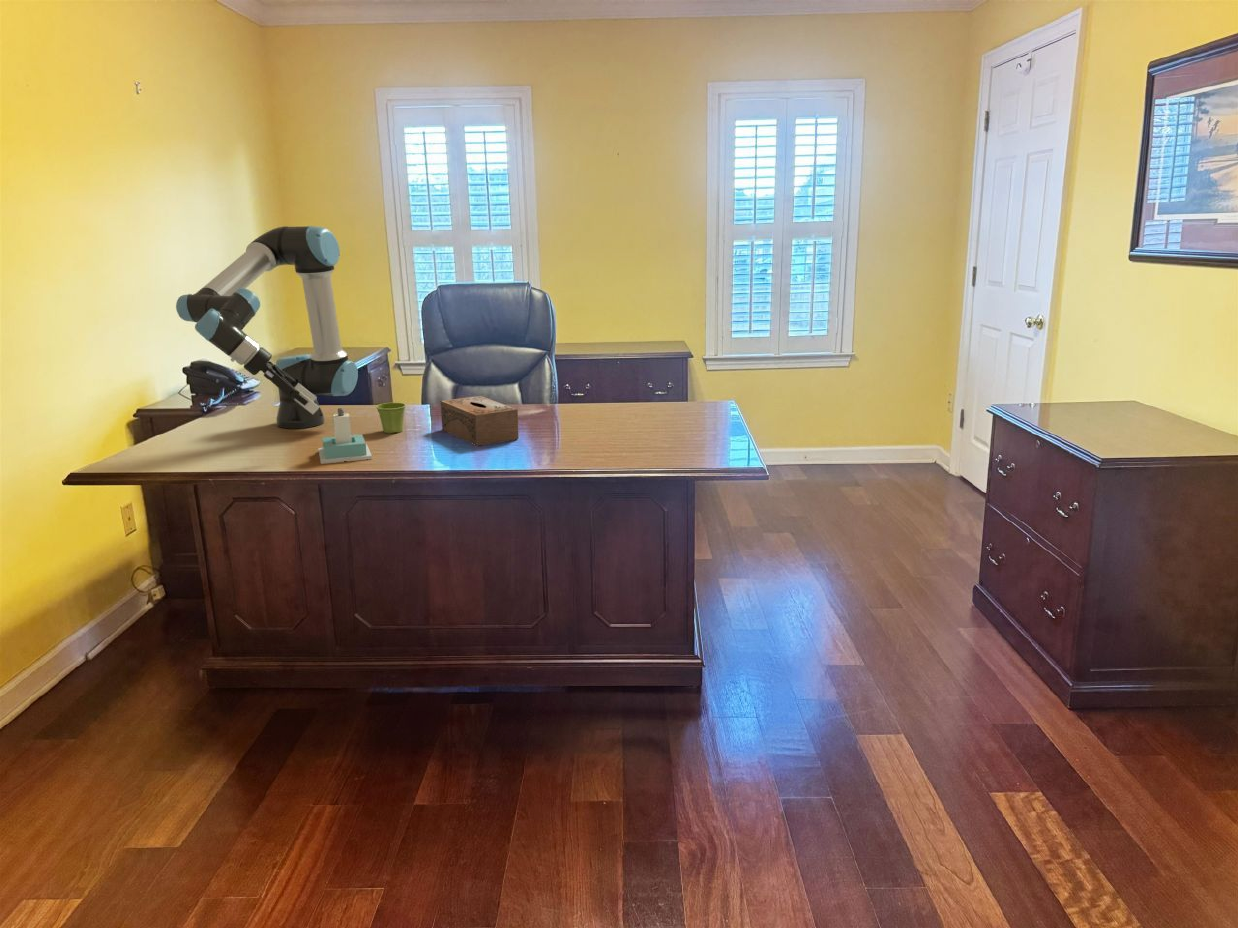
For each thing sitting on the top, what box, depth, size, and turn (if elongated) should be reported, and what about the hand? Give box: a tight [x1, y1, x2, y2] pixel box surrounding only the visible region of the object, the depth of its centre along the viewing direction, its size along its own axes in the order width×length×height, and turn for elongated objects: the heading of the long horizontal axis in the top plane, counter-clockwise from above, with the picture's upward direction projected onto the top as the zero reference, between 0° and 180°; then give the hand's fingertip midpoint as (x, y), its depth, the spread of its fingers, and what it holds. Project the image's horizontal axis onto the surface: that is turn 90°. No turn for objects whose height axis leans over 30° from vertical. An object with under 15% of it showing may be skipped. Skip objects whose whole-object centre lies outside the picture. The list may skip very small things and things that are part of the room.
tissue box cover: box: [440, 395, 519, 446], centre depth 267 cm, size 26×14×10 cm, turn 36°
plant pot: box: [375, 402, 407, 434], centre depth 270 cm, size 9×9×9 cm
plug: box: [332, 407, 352, 444], centre depth 241 cm, size 4×4×13 cm
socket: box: [317, 434, 373, 465], centre depth 243 cm, size 14×14×4 cm
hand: (315, 405), depth 236 cm, fingers open, 13 cm apart
